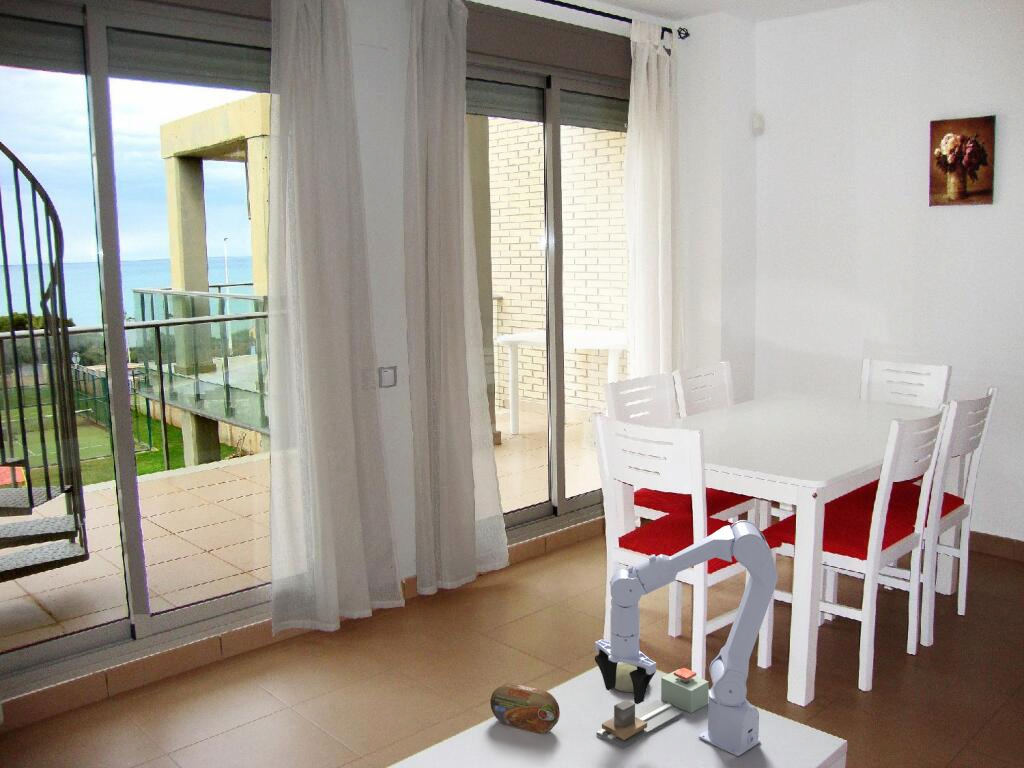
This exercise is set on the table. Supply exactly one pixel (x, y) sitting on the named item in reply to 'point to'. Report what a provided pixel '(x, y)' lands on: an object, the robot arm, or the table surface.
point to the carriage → (624, 721)
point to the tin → (525, 708)
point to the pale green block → (684, 692)
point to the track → (655, 717)
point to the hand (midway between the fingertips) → (624, 695)
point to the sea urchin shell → (624, 677)
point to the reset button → (685, 675)
